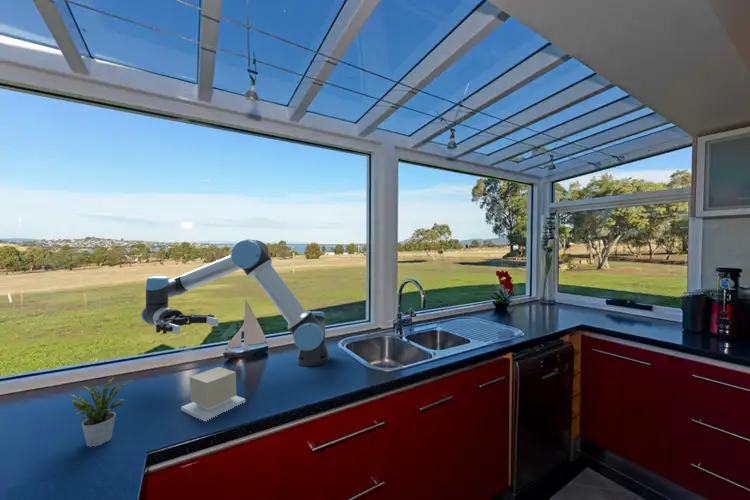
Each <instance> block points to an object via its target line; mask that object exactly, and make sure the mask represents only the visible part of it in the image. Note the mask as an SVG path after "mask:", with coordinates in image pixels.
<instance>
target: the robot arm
mask: <svg viewBox="0 0 750 500" xmlns="http://www.w3.org/2000/svg"><path fill="white" fill-rule="evenodd" d="M272 263H273V259H272V258H271V257H270V255H269V247H268V246H267V245H266V244H265V243H264V242H262V240H261V241H260V240H257V239H251V238H244V239H241V240H238V241H237V242H236V243H235V244H234V245H233V246H232V248H231V250H230V255H228V256H225V257H223V258H221V259H218V260H215V261H213V262H210V263H208V264H205V265H203V266H201V267H198V268H196V269H194V270H191V271H188V272H186V273H184V274H182V275H179V276H176V277H173V278H170V279H169V277H168V276H149V277H147V279H146V283H145V307H144V308H143V309H142V311H141V312H140V317H141V320H142V321H143V322H145V323H146V324H149V325H152V326H155V332H156V333H160V332H161V331H162V334H163V335H164V334H167V333H168V332H169V333H172V334H175V335H181V333H180V332H181V326H184V325H185V326H187V325H192V324H206V325H210V326H213V327H218V326H219V318H217V317H215V315H213V314H211V313H210V314H196V313H191V314H186V315H185V314H184V313H183V312H182V311H181V310H178V309H175V308H171V307H169V298H171V297H175V296H180V295H182V294H184V293H186V292H188V291H190V290H192V289H193V290H194V289H196V288H198V287H201V286H202V285H205V284H207V283H209V282H212V281H215V280H217V279H220V278H222V277H225V276H226V275H230V274H232V273H235V272H236V271H238V270H241V269H242V271H243V272H244V273H245V275H247V277H248V278H249V277H251V278H253V279H254V280H255V282H257V284H258V285H259V286H260V288H261V289H262V291H263V292H264V293H265V294H266V296H267V297H268V299H269V300H270V301H271V303H272V304H273V305H274V306H275V308H276V309H277V310H278V311H279V313H280V314H281V315H282V317H283V318H284V320H285V321H286V322H287V331H289V332H290V334H291V336H292V337H293V342H294V344H295V346H296V347H297V348H298V353H297V356H296V363H297V365H299V366H302V367H317V366H321V365H324V364H327V363H328V362H329V361H330V359H331V358H330V352H329V349H328V347H327V342H326V313H325V312H324V311H318V310H317V311H311V310H306V309H305V308H304V307H303V305H302V304H301V303H300V302H299V300H298V299H297V297H296V296H295V295H294V294H293V292H292V291H291V290H290V288H289V287H288V285H287V284H286V283H285V282H284V280H283V279H282V277H281V276H280V274H278V272H277V271H276V269H275V268H274V267H273V266H272V265H273V264H272Z"/></svg>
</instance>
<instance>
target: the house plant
mask: <svg viewBox="0 0 750 500" xmlns="http://www.w3.org/2000/svg"><path fill="white" fill-rule="evenodd" d="M113 380H114V377H112V378H111V379H109V380H108V381H107V383H106V384H105V385H104V388H103V390H102V393H101V391H100V388H99V386H98V385H95V387H96V389H97V391H96V390H95V389H94V388H92V387H89V386H86V385H82V387H83V388H84V389H86V390H87V391H88V392H89V393H90V395H91V398H92V400H93V402H94V406H95V407H94V406H93V405H92V404H91V403H90V402H88V400H87V399H85V398H84V397H82V396H79V395H76V394H70V396H72V397H75V398H76V399H78V400H75V399H70V402H72V404H73V405H74V408H75V407H76V408H75V409H73V410H72V411H71V413H73V412H74V411H75V412H76V411H80V412H76V413H75V415H86V416H87V417H85V416H84V417H83V416H82V417H80V418H79V419H78V420H77V422H79V421H82V422H81V428H82V431H83V435H84V439H85V443H86V446H87V447H88V446H89V447H88V448H93V447H92V446H94V447H98V446H102V445H104V444H105V442H106V443H107V442H108V441H110V440H111V439H112V436H113V432H114V428H115V427H114V426H115V421H116V415H117V414H116V412H112V411H111V410H113V409H115V408H117V407H120V406H122V405H123V406H124V405H125V404H124V403H120V402H123V401H125V399H124V398H119V399H116V400H115V401H114V402H112V404H110V403H111V401H112V400H113V398H114V397H115V396H117V394H118V393H119V392H121V389H122V388H123V386H125V385H126V384H128V383H130V382H133V381H134V379H131V380H128V381H125V382H124V383H122V384H121V385H119V383H115V384H113V385H112V387H111V384H112V381H113ZM118 385H119V386H118ZM117 386H118V387H117ZM110 387H111V389H110ZM116 387H117V388H116ZM109 389H110V392H109ZM108 393H109V395H108ZM101 394H102V395H101ZM107 395H108V396H107ZM109 405H110V406H109ZM103 443H104V444H103ZM97 445H98V446H97Z"/></svg>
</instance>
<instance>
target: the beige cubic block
mask: <svg viewBox="0 0 750 500" xmlns="http://www.w3.org/2000/svg"><path fill="white" fill-rule="evenodd" d="M189 387H190V388H189V389H190V390H189V392H190V393H189V394H190V402H191V403H192V402H194V403H197V404H199V405H201V406H203V407H206V408H210V407H212V406H214V405H216V404H218V403H221V402H223V401H225V400H227V399H229V398H232V397H234V396H237V372H236V371H235V370H231V369H227V368H224V367H221V366H217V367H214V368H211V369H208V370H205V371H202V372H200V373H197V374H194V375H191V376H190V377H189Z"/></svg>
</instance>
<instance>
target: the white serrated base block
mask: <svg viewBox="0 0 750 500" xmlns="http://www.w3.org/2000/svg"><path fill="white" fill-rule="evenodd" d="M242 403H243V404H245V403H246V398H244V397H241V396H240V395H239V396H238V395H236V396H234V397H232V398H229V399H227V400H225V401H223V402H221V403H218V404H216V405H214V406H212V407H210V408H206V407H203V406H201V405H199V404H197V403H194V402H192V401H191V402H189V403H187V404H185V405H182V406H181V407H180V410H181V412H184V413H186V414H188V415H190V416H192V417H194V418H196V419H198V418H199V419H198V420H200V419H201V420H200V421H202V420H203V422H204V421H206V422H208V421H210V420H212V419H214V418H216V417H218V416H217V415H219V414H221V413H223V412H225V413H227V412H229V411H231V410H233V409H235V408H236V407H235V406H237V407H238V405H239V406H241V405H243V404H242ZM240 404H241V405H240ZM234 407H235V408H234ZM232 408H233V409H232ZM230 409H231V410H230ZM228 410H229V411H228ZM226 411H227V412H226ZM223 414H224V413H223ZM221 415H222V414H221ZM215 416H216V417H215ZM219 416H220V415H219ZM213 417H214V418H213ZM211 418H212V419H211ZM209 419H210V420H209ZM207 420H208V421H207Z"/></svg>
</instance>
